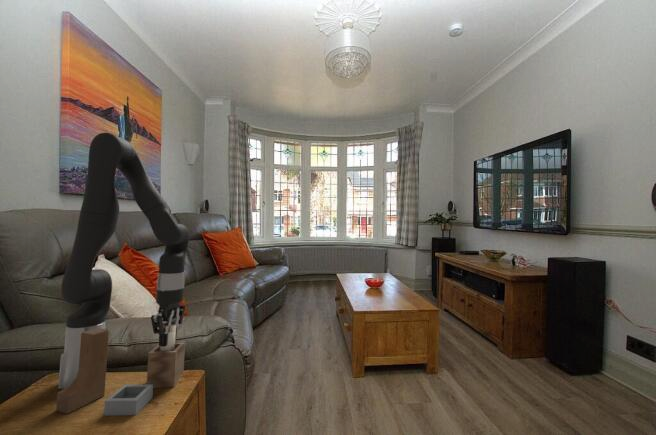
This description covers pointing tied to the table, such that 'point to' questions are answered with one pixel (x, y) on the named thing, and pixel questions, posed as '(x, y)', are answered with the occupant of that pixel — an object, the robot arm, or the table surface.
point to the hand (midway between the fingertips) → (167, 342)
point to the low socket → (128, 400)
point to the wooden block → (87, 372)
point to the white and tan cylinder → (170, 339)
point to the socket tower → (165, 366)
